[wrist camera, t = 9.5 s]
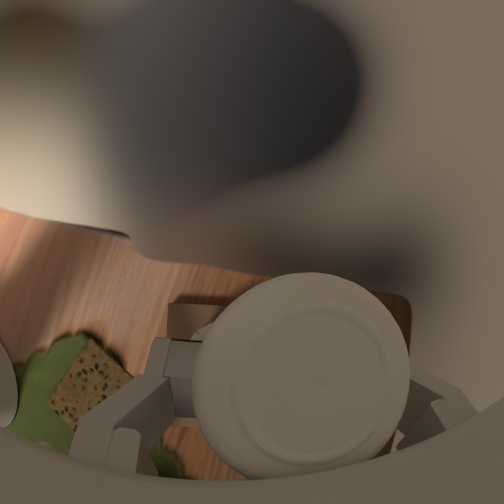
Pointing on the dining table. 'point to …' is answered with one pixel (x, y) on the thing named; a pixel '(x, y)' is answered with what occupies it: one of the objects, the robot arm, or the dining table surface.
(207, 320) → the collar stand
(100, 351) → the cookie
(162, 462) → the dining table surface
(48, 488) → the robot arm
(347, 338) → the sprinkles bottle
